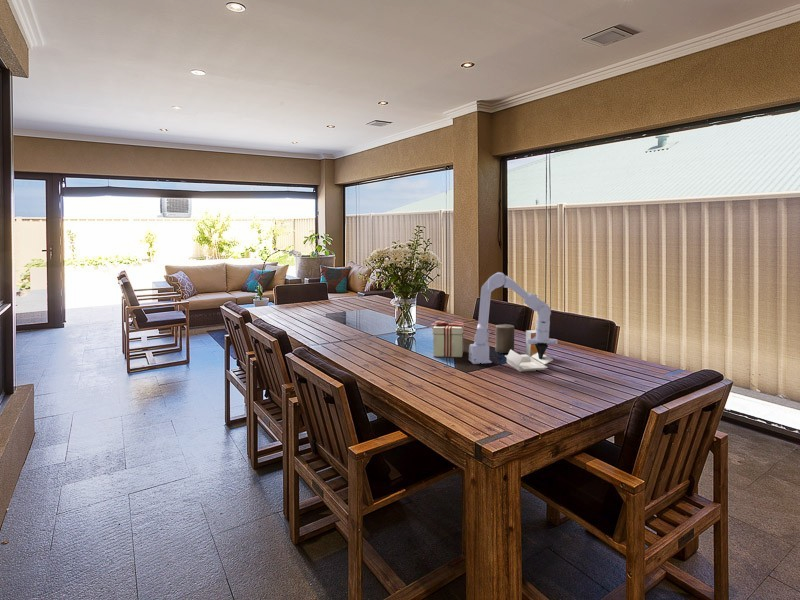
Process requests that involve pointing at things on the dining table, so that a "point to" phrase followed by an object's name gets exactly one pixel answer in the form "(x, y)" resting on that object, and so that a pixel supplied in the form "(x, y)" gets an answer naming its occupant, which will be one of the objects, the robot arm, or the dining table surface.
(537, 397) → the dining table surface
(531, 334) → the small box
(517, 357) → the flap
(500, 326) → the pillar candle
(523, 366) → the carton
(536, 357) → the flap
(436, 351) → the gift box
